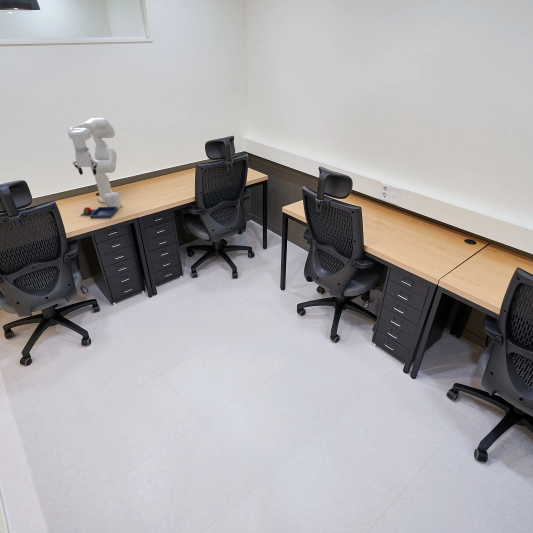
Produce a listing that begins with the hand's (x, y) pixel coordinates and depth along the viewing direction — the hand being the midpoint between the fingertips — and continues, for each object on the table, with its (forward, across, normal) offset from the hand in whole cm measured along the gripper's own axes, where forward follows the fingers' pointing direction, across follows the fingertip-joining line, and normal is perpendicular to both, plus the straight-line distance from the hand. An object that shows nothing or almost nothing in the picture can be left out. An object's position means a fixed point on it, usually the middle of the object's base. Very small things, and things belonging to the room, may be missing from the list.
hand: (88, 174), depth 251 cm
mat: (+28, +6, +4) cm, 29 cm away
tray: (+28, -7, +6) cm, 30 cm away
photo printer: (+28, -10, -6) cm, 31 cm away
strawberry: (+28, +6, +4) cm, 29 cm away
